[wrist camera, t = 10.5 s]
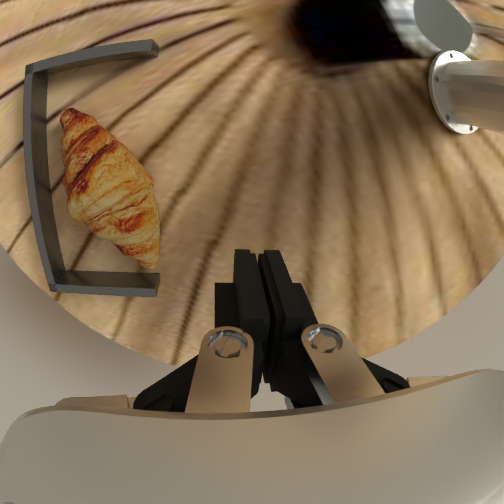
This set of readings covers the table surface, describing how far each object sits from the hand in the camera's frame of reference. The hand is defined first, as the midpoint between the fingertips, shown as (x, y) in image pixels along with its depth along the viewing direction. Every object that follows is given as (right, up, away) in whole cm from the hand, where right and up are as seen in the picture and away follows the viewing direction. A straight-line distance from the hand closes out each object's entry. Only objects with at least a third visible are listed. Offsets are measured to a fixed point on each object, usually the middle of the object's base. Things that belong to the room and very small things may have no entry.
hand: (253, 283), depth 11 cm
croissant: (-16, +9, +19) cm, 26 cm away
